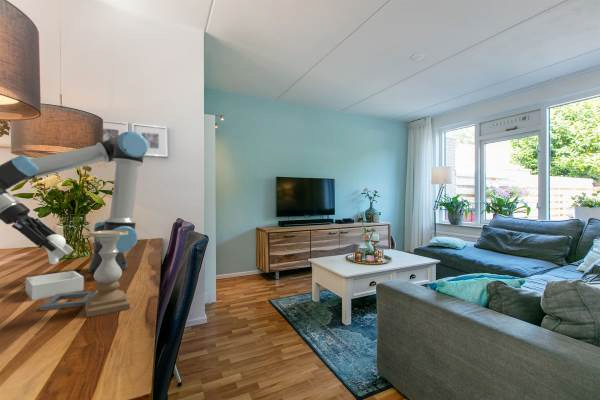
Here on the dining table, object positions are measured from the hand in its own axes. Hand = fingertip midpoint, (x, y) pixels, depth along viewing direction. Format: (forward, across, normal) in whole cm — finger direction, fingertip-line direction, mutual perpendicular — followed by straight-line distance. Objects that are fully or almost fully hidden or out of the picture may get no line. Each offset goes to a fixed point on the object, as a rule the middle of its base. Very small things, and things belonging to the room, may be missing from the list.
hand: (66, 254), depth 100 cm
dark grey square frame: (+13, +14, -5) cm, 20 cm away
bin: (+7, 0, -12) cm, 14 cm away
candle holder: (+22, +24, +3) cm, 33 cm away
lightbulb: (0, 0, -5) cm, 5 cm away
